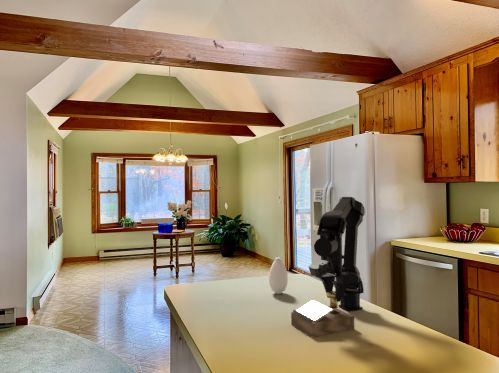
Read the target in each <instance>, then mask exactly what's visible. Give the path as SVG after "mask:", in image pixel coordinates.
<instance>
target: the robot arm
mask: <svg viewBox="0 0 499 373" xmlns="http://www.w3.org/2000/svg"><path fill="white" fill-rule="evenodd" d="M365 210H366V209H365V206H364V204H363V203H362V202H361V201H358V200H356V198H355V197H353V196H342V197H339V200H338V203H337V204H336V206H335V207H334V208H333V209H332V210H331V211H326V212H325V213H323V214H322V216H321V218H320V220H319V224H318V229H317V232H316V235H317V236H319V238H318V239H317V240H315V243H314V245H313V249H314V252H315V254H317V255H318V256H319V257H320V259H319V260H318V261H315V262H313V263H311V264H310V265H308V270H309V272H310V275H311V276H312V277H315V278H317V279H319V280H320V281H321V282H322V285H323V288H324V291H325V293H326V292H327V291H335V292H336V301H337V303H339V304H338V307H339V308H342V309H343V310H346V311H347V312H349V311H350V312H351V311H352V312H353V311H357V310H358V311H359V310H362V309H363V307H362V306H361V305H360V304H361V301H360V300H361V299H360V298H361V296H360V295H361V294H364V284H363V280H362V278H361V273H360V270H359V268H358V267H357V250H358V233H359V226H360V225H361V224H362V222H363V220H364V216H365ZM343 234H344V247H343V240H342V239H343ZM343 248H344V249H343ZM343 250H344V251H343ZM326 297H327V298H328V299H330V297H328V296H327V295H326Z"/></svg>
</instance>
